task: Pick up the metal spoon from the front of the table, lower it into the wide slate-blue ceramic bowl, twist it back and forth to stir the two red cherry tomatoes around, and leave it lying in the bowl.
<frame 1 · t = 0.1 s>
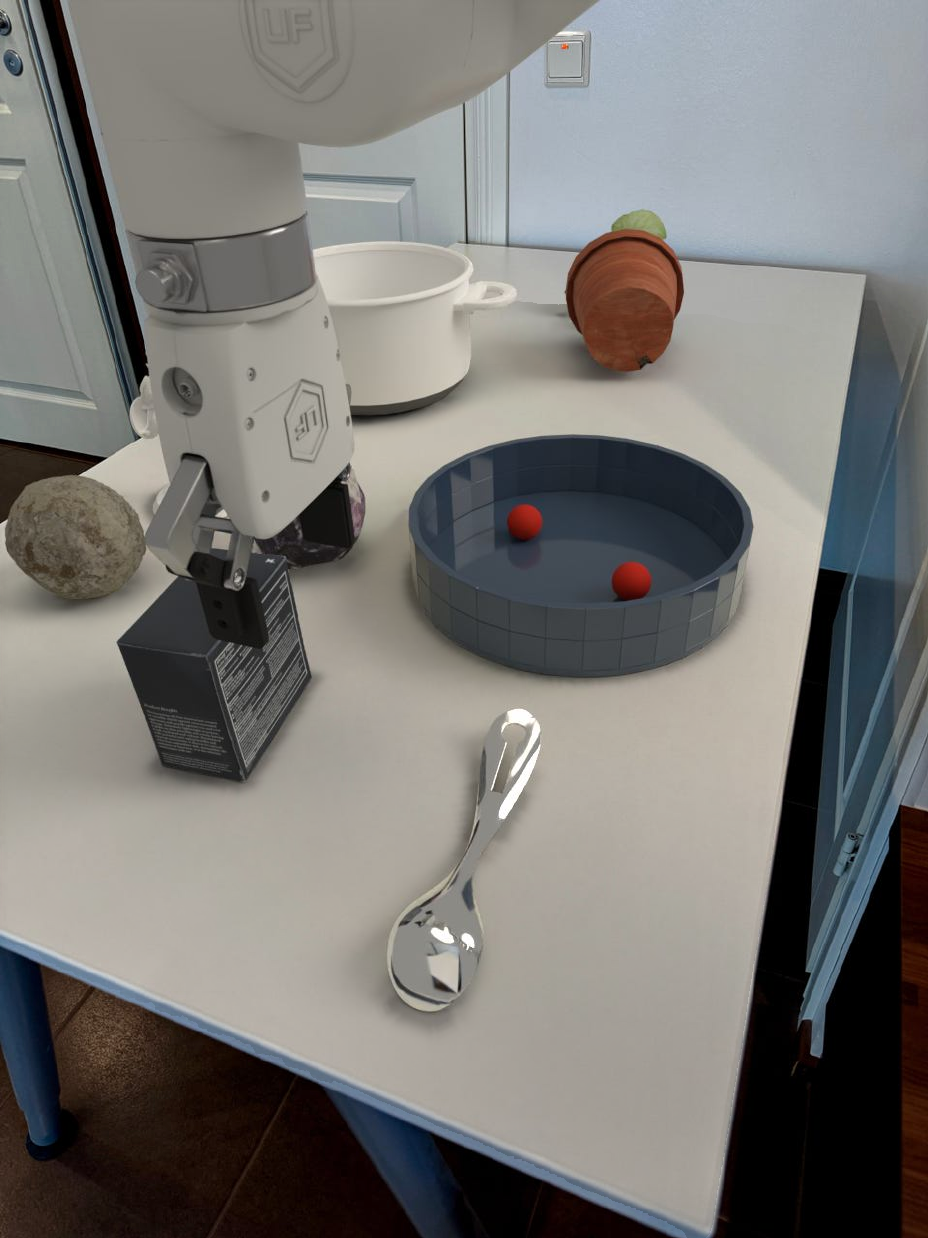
hand: (288, 588, 48), 13 cm above the table, tool pointing down, fingers open, 9 cm apart
small box: (239, 721, 60), on the table
bowl: (574, 571, 72), on the table
decorative stone: (97, 589, 73), on the table
pot: (379, 388, 105), on the table
tomato a: (631, 581, 67), point 2 cm above the table, touching bowl
mineral specimen: (314, 555, 76), on the table
tomato b: (524, 522, 75), point 2 cm above the table, touching bowl
figurine: (200, 502, 84), on the table
metal spoon: (478, 852, 50), on the table
potted plant: (615, 335, 116), on the table
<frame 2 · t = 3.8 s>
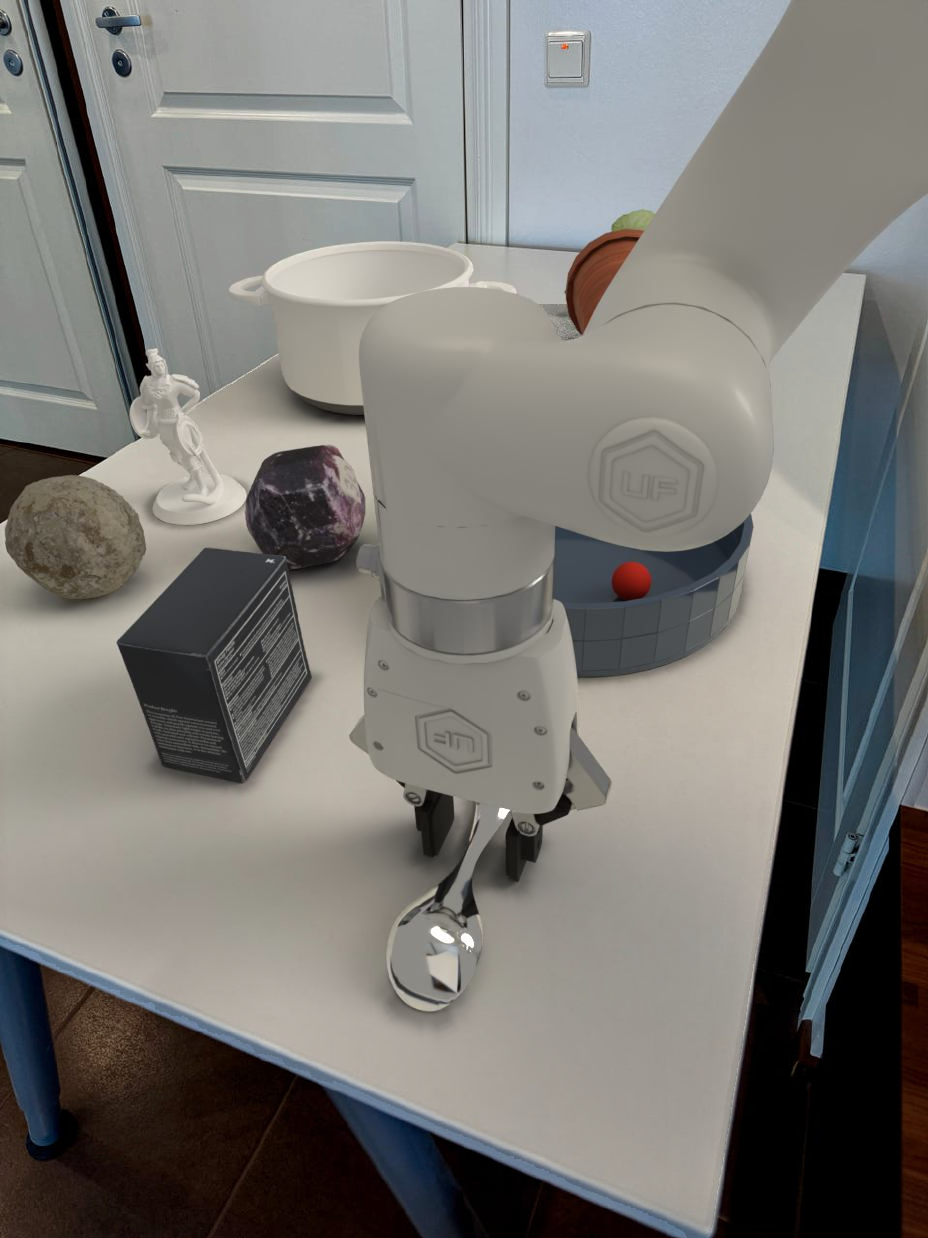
hand: (479, 846, 50), 0 cm above the table, tool pointing down, fingers closed on metal spoon, 4 cm apart
metal spoon: (478, 852, 50), on the table, touching gripper
everything else where it was.
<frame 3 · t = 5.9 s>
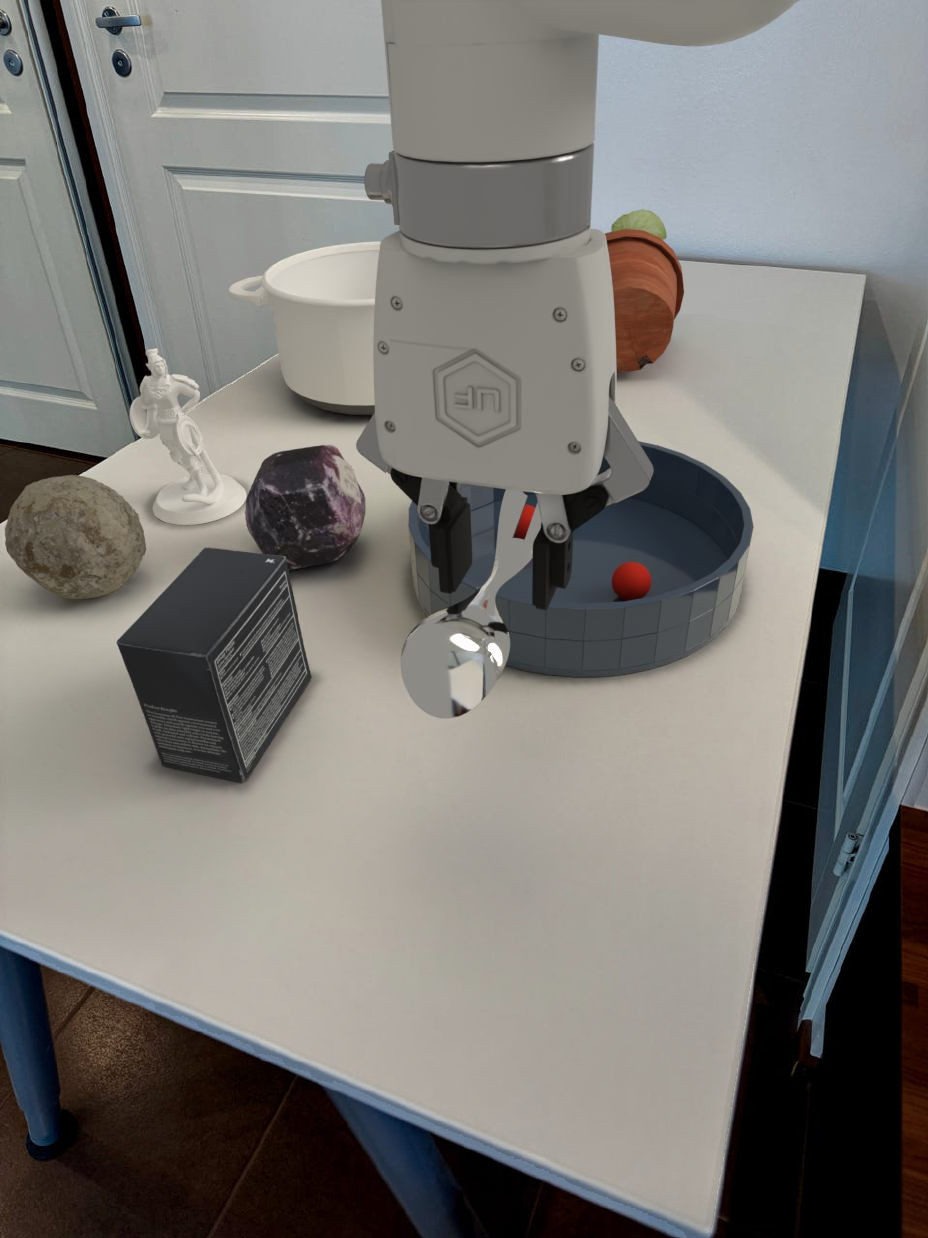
hand: (501, 583, 45), 15 cm above the table, tool pointing down, fingers closed on metal spoon, 4 cm apart
metal spoon: (499, 591, 45), point 15 cm above the table, touching gripper
everything else where it was.
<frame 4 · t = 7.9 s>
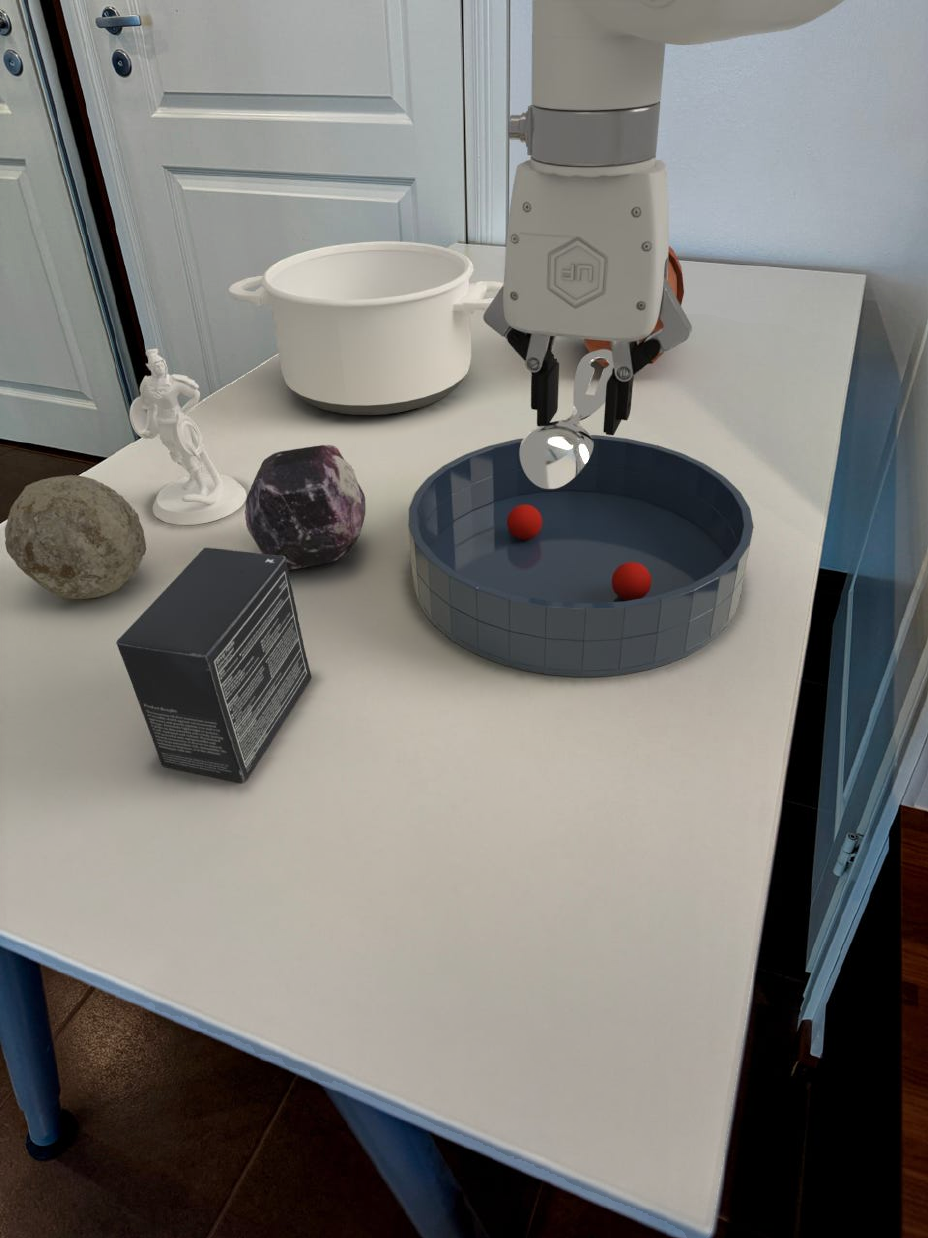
hand: (579, 420, 63), 14 cm above the table, tool pointing down, fingers closed on metal spoon, 4 cm apart
metal spoon: (578, 427, 64), point 13 cm above the table, touching gripper
everything else where it was.
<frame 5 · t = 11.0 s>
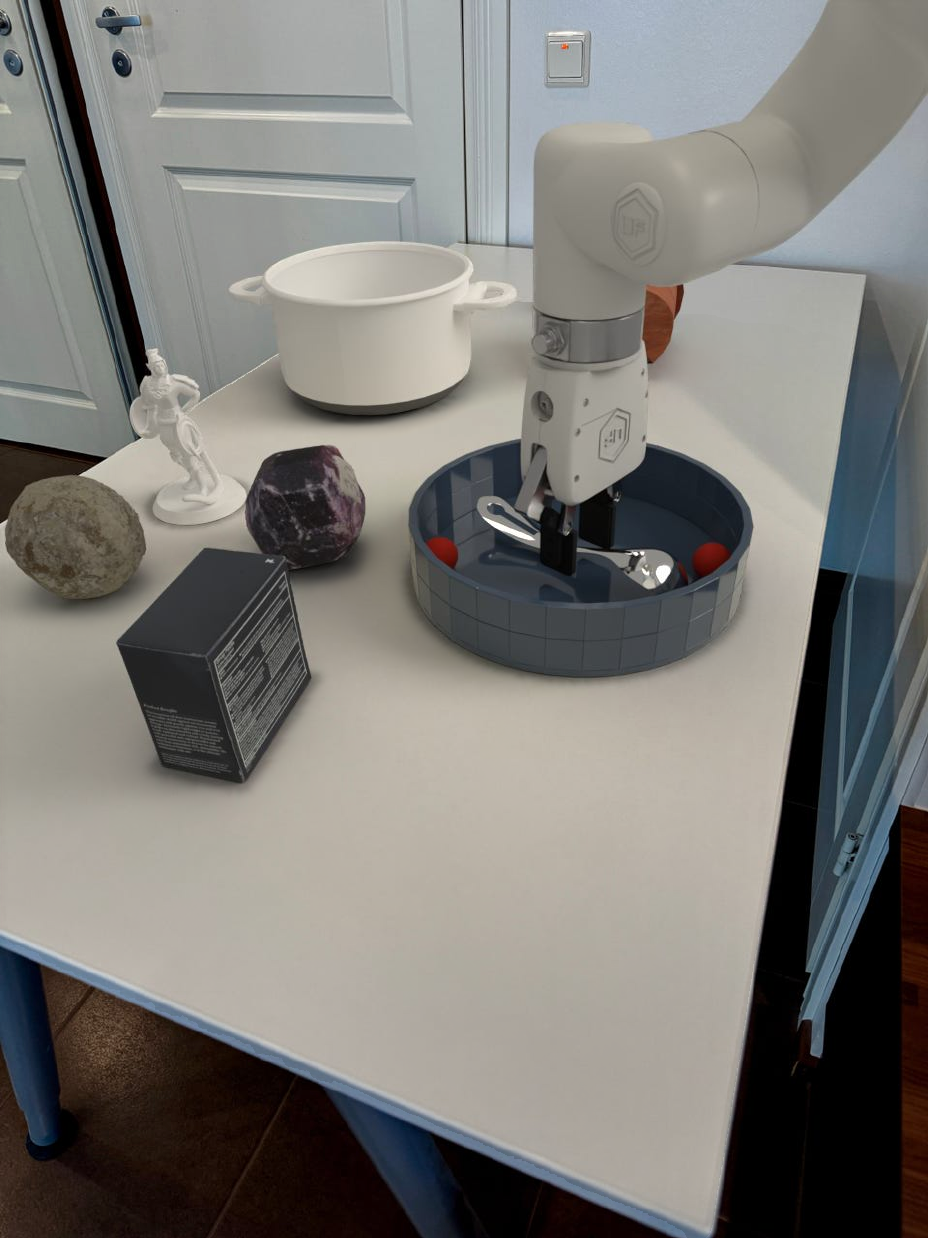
hand: (577, 553, 71), 2 cm above the table, tool pointing down, fingers closed on metal spoon, 4 cm apart
tomato a: (712, 561, 69), point 2 cm above the table, tilted 112°, touching bowl
tomato b: (439, 555, 71), point 2 cm above the table, tilted 76°, touching bowl
metal spoon: (573, 558, 71), point 1 cm above the table, touching gripper
everything else where it was.
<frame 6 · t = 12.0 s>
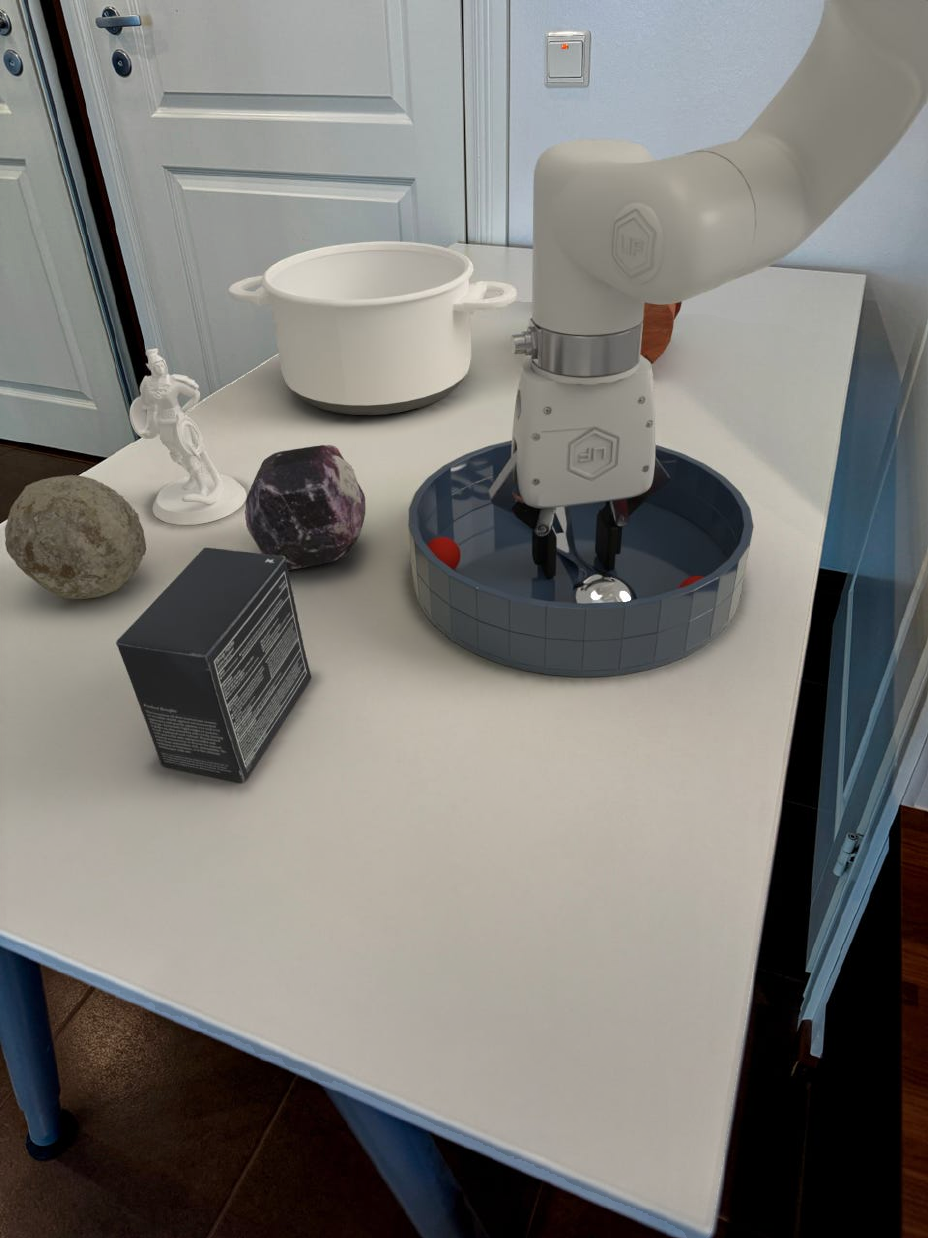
hand: (575, 563, 71), 1 cm above the table, tool pointing down, fingers closed on metal spoon, 4 cm apart
tomato a: (697, 595, 65), point 2 cm above the table, tilted 79°, touching bowl
metal spoon: (573, 566, 72), resting on bowl, touching gripper
everything else where it was.
when the fingers open (1 cm above the table, at t = 12.0 s): metal spoon stays where it is, resting on bowl.
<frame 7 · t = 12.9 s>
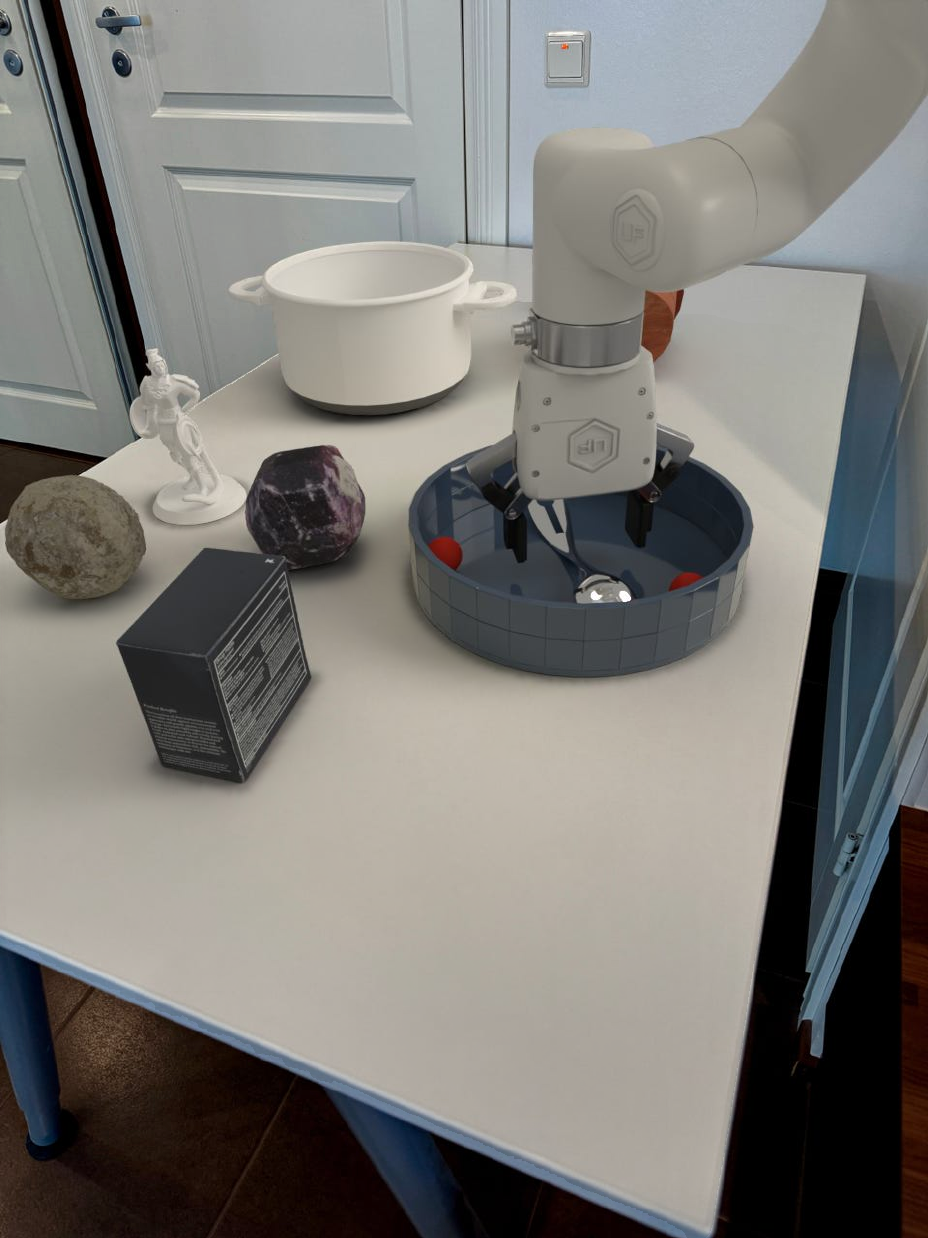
hand: (576, 546, 70), 3 cm above the table, tool pointing down, fingers open, 9 cm apart
tomato a: (689, 592, 66), point 2 cm above the table, tilted 100°, touching bowl
metal spoon: (573, 566, 72), resting on bowl
everything else where it was.
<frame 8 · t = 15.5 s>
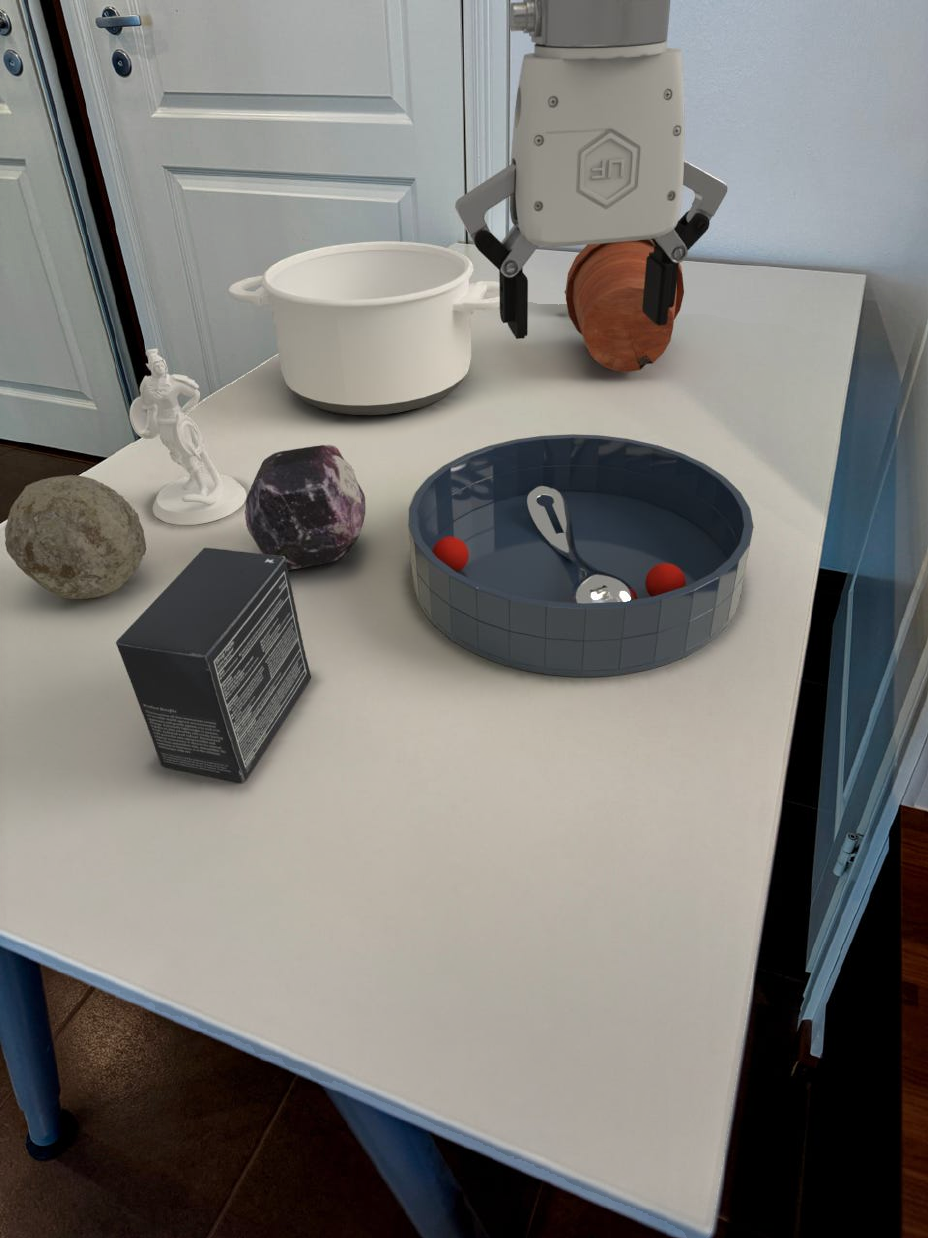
hand: (586, 325, 60), 20 cm above the table, tool pointing down, fingers open, 9 cm apart
tomato a: (665, 582, 67), point 2 cm above the table, tilted 144°, touching bowl
tomato b: (450, 555, 71), point 2 cm above the table, tilted 97°, touching bowl
everything else where it was.
at the end: metal spoon inside the target area in the bowl (0.2 cm from its centre), point 0.4 cm above the bowl's base; tomato a moved 2.5 cm from its start; tomato b moved 7.9 cm from its start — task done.
